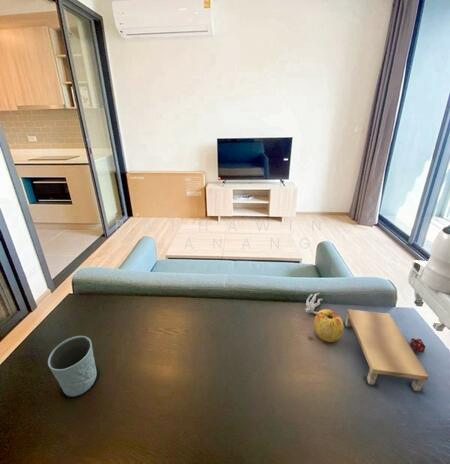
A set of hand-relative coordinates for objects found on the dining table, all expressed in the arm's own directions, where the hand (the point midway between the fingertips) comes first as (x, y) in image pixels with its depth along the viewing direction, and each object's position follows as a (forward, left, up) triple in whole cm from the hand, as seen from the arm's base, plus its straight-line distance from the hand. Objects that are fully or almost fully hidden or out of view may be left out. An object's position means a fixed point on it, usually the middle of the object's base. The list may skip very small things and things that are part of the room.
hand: (426, 316), depth 74 cm
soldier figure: (+29, -15, -15) cm, 36 cm away
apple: (+27, -2, -15) cm, 31 cm away
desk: (+12, +2, -15) cm, 19 cm away
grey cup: (+101, +24, -15) cm, 105 cm away
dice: (-1, -1, -15) cm, 15 cm away
